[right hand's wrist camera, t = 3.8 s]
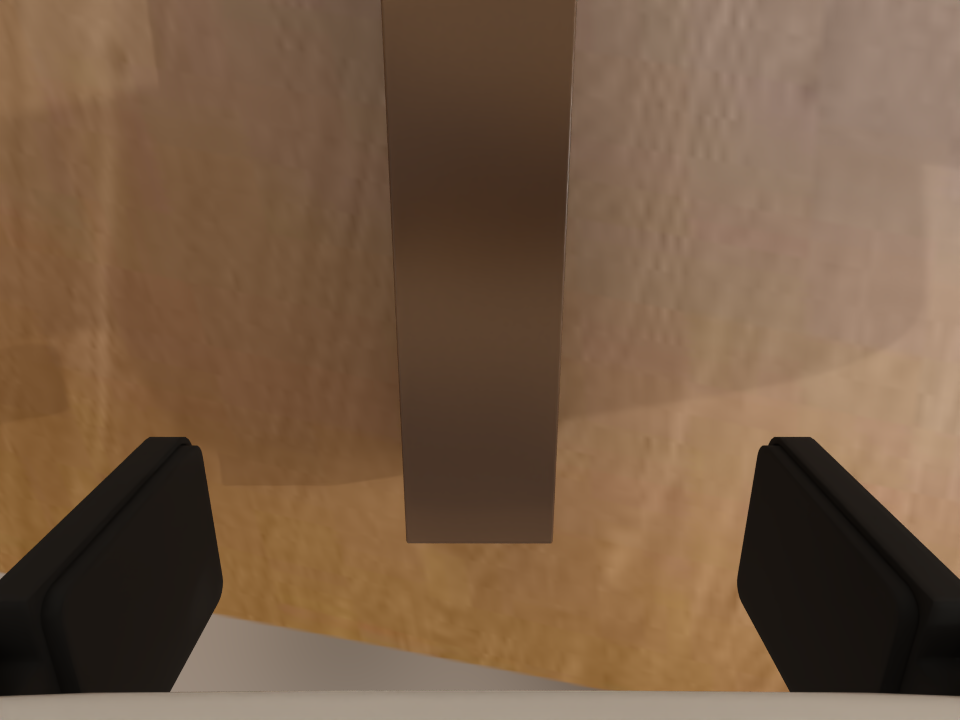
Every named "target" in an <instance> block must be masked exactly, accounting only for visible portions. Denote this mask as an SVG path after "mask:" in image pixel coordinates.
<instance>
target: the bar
mask: <svg viewBox="0 0 960 720" xmlns="http://www.w3.org/2000/svg"><path fill="white" fill-rule="evenodd" d="M576 9H577V0H381V12H382V33H383V54H384V75H385V97H386V118H387V139H388V160H389V181H390V203H391V224H392V245H393V266H394V287H395V309H396V330H397V351H398V372H399V393H400V415H401V436H402V457H403V478H404V499H405V521H406V541H407V543H552V541H553V521H554V499H555V477H556V455H557V432H558V410H559V388H560V366H561V343H562V321H563V299H564V276H565V254H566V232H567V210H568V187H569V165H570V143H571V121H572V98H573V76H574V54H575V32H576Z"/></svg>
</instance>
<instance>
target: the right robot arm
mask: <svg viewBox="0 0 960 720" xmlns="http://www.w3.org/2000/svg"><path fill="white" fill-rule="evenodd" d="M222 587H223V577H222V571H221V565H220V559H219V553H218V546H217V540H216V534H215V528H214V522H213V516H212V510H211V504H210V498H209V492H208V486H207V480H206V474H205V468H204V462H203V456H202V452H201V449H200V448H199V447H198V446H192V445H191V443H190V441H189V439H187V438H186V437H149V438H148V439H146V440H145V441H144V442H143V443H142V444H141V445H140V446H139V447H138V448H137V449H136V450H134V451H133V452H132V453H131V454H130V455H129V456H128V457H127V458H126V459H125V460H124V461H123V462H122V463H121V464H120V465H119V466H118V467H117V468H116V469H115V470H114V471H113V472H112V473H111V474H110V475H108V476H107V477H106V478H105V479H104V480H103V481H102V482H101V483H100V484H99V485H98V486H97V487H96V488H95V489H94V490H93V491H92V492H91V493H90V494H89V495H88V496H87V497H86V498H85V499H83V500H82V501H81V502H80V503H79V504H78V505H77V506H76V507H75V508H74V509H73V510H72V511H71V512H70V513H69V514H68V515H67V516H66V517H65V518H64V519H63V520H62V521H61V522H60V523H59V524H57V525H56V526H55V527H54V528H53V529H52V530H51V531H50V532H49V533H48V534H47V535H46V536H45V537H44V538H43V539H42V540H41V541H40V542H39V543H38V544H37V545H36V546H35V547H34V548H33V549H31V550H30V551H29V552H28V553H27V554H26V555H25V556H24V557H23V558H22V559H21V560H20V561H19V562H18V563H17V564H16V565H15V566H14V567H13V568H12V569H11V570H10V571H9V572H8V573H6V574H5V575H4V576H3V577H2V578H1V579H0V720H960V579H959V578H958V577H957V576H956V575H955V574H954V573H952V572H951V571H950V570H949V569H948V568H947V567H946V566H945V565H944V564H943V563H942V562H941V561H940V560H939V559H938V558H937V557H936V556H935V555H934V554H933V553H932V552H931V551H930V550H929V549H927V548H926V547H925V546H924V545H923V544H922V543H921V542H920V541H919V540H918V539H917V538H916V537H915V536H914V535H913V534H912V533H911V532H910V531H909V530H908V529H907V528H906V527H905V526H904V525H903V524H901V523H900V522H899V521H898V520H897V519H896V518H895V517H894V516H893V515H892V514H891V513H890V512H889V511H888V510H887V509H886V508H885V507H884V506H883V505H882V504H881V503H880V502H879V501H878V500H877V499H875V498H874V497H873V496H872V495H871V494H870V493H869V492H868V491H867V490H866V489H865V488H864V487H863V486H862V485H861V484H860V483H859V482H858V481H857V480H856V479H855V478H854V477H853V476H852V475H850V474H849V473H848V472H847V471H846V470H845V469H844V468H843V467H842V466H841V465H840V464H839V463H838V462H837V461H836V460H835V459H834V458H833V457H832V456H831V455H830V454H829V453H828V452H827V451H826V450H824V449H823V448H822V447H821V446H820V445H819V444H818V443H817V442H816V441H815V440H814V439H812V438H811V437H774V438H773V439H771V441H770V443H769V445H768V446H762V447H761V448H760V449H759V452H758V456H757V462H756V468H755V474H754V480H753V486H752V492H751V498H750V504H749V510H748V516H747V522H746V528H745V534H744V540H743V546H742V553H741V559H740V565H739V571H738V577H737V588H738V593H739V597H740V600H741V602H742V604H743V606H744V608H745V609H746V611H747V613H748V615H749V617H750V619H751V621H752V622H753V624H754V626H755V628H756V630H757V632H758V634H759V635H760V637H761V639H762V641H763V643H764V645H765V646H766V648H767V650H768V652H769V654H770V656H771V658H772V659H773V661H774V663H775V665H776V667H777V669H778V671H779V672H780V674H781V676H782V678H783V680H784V682H785V683H786V685H787V687H788V689H789V691H790V692H711V691H565V690H563V691H561V690H429V691H426V690H425V691H423V690H420V691H254V692H253V691H252V692H170V691H171V689H172V687H173V685H174V683H175V682H176V680H177V678H178V676H179V674H180V672H181V670H182V669H183V667H184V665H185V663H186V661H187V659H188V658H189V656H190V654H191V652H192V650H193V648H194V646H195V645H196V643H197V641H198V639H199V637H200V635H201V633H202V632H203V630H204V628H205V626H206V624H207V622H208V621H209V619H210V617H211V615H212V613H213V611H214V609H215V608H216V606H217V604H218V602H219V600H220V597H221V593H222Z"/></svg>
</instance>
